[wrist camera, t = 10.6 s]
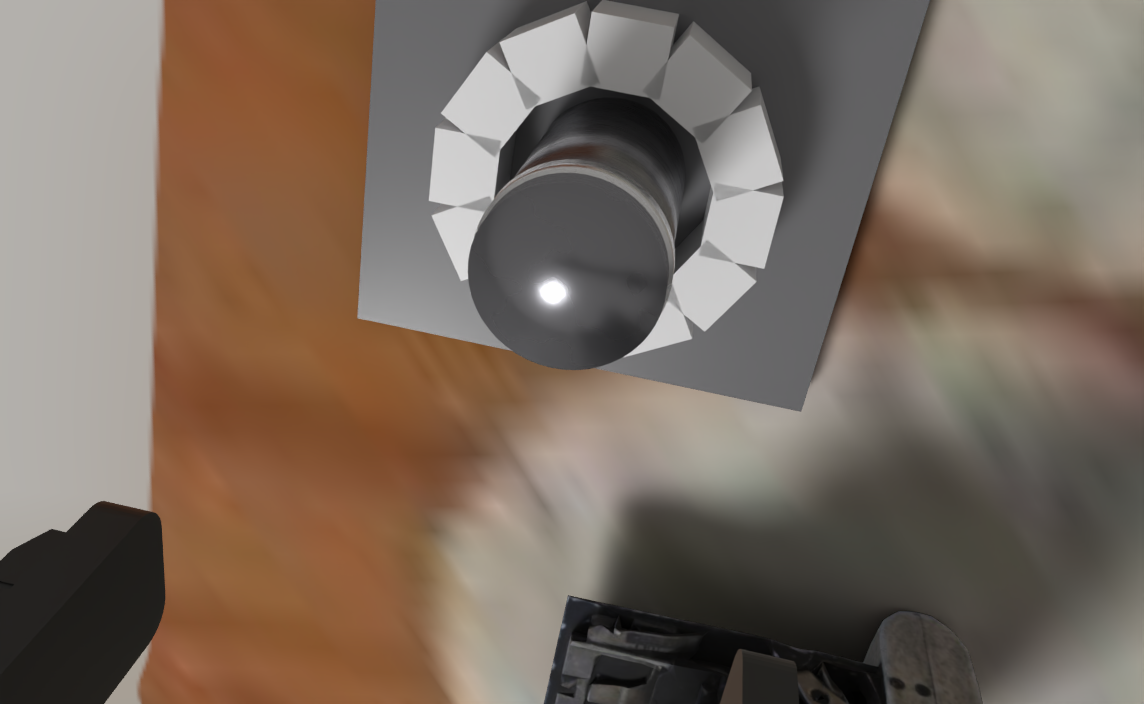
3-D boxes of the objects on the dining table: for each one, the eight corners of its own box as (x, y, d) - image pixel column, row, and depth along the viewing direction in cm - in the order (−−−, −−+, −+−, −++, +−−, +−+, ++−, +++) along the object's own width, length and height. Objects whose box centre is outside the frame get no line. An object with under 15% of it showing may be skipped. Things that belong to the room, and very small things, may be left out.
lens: (704, 111, 30) (692, 203, 22) (670, 261, 32) (647, 392, 25) (545, 79, 30) (476, 158, 22) (522, 229, 33) (453, 349, 25)
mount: (925, -13, 29) (948, 5, 26) (799, 394, 35) (805, 448, 32) (394, -110, 30) (353, -105, 27) (368, 304, 36) (333, 348, 33)
